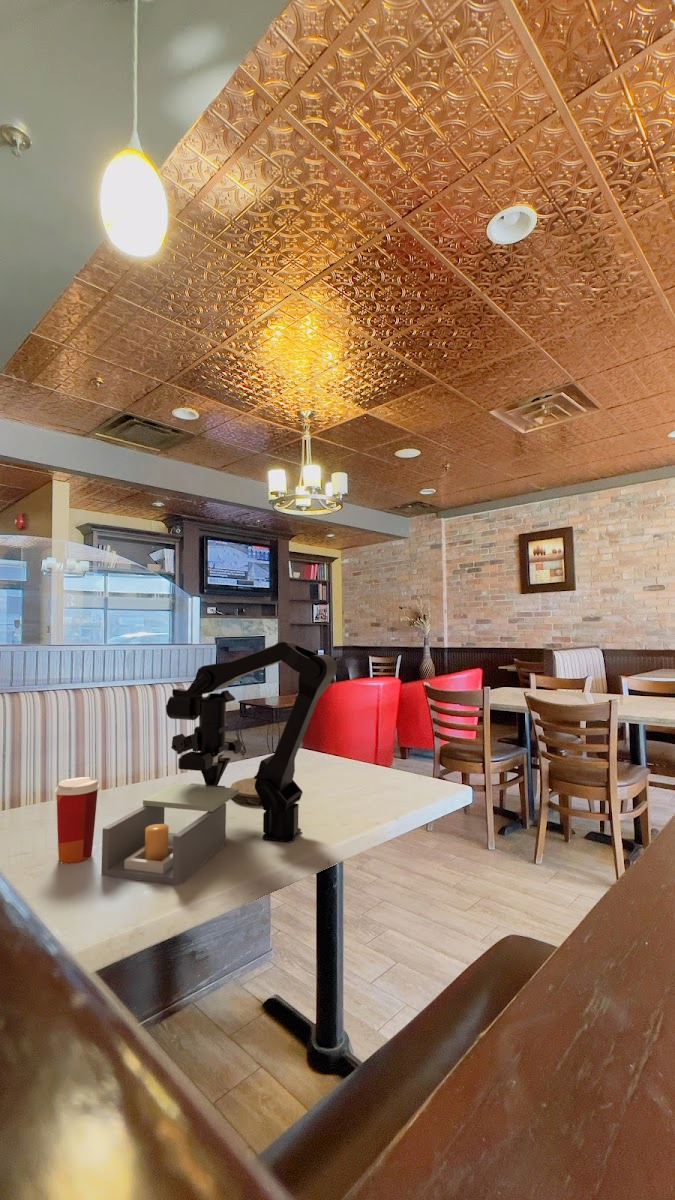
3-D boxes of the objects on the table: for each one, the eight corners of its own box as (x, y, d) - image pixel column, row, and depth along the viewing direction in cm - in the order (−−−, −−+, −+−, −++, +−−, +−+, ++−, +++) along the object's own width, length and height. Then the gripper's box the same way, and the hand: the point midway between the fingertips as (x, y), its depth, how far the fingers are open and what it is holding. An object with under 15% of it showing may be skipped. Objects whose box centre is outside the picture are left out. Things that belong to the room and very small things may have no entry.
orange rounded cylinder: (172, 858, 99) (173, 825, 99) (159, 867, 95) (160, 832, 95) (153, 856, 100) (154, 822, 100) (139, 864, 96) (140, 830, 96)
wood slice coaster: (218, 796, 140) (218, 784, 140) (269, 784, 150) (269, 773, 151) (252, 811, 128) (252, 799, 128) (304, 798, 139) (305, 786, 139)
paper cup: (85, 845, 107) (88, 774, 107) (105, 856, 102) (107, 781, 103) (44, 858, 101) (47, 782, 101) (62, 870, 96) (65, 790, 97)
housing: (225, 843, 108) (226, 803, 109) (178, 885, 91) (179, 836, 91) (158, 836, 112) (159, 797, 112) (101, 875, 94) (102, 828, 95)
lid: (240, 801, 115) (240, 787, 115) (212, 822, 103) (212, 806, 103) (176, 796, 119) (177, 782, 119) (142, 815, 106) (143, 800, 106)
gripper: (200, 713, 130) (199, 778, 129) (156, 727, 112) (154, 803, 111) (242, 715, 128) (241, 782, 127) (204, 729, 109) (203, 808, 109)
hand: (211, 793), depth 118 cm, fingers closed
